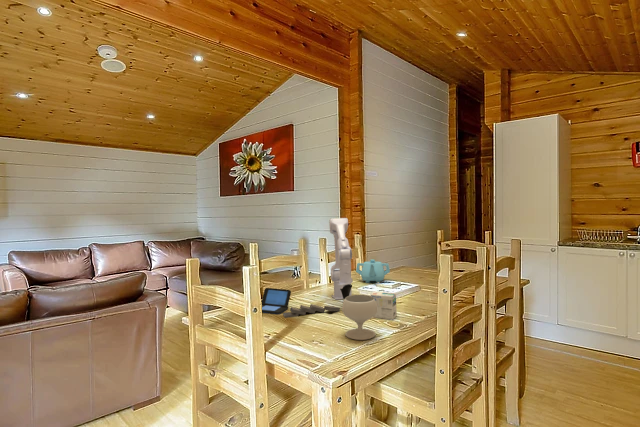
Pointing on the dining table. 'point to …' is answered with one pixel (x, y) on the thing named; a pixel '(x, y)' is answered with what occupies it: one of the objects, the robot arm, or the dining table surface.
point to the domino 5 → (331, 308)
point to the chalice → (359, 314)
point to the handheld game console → (275, 300)
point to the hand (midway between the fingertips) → (345, 299)
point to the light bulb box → (385, 304)
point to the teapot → (372, 270)
